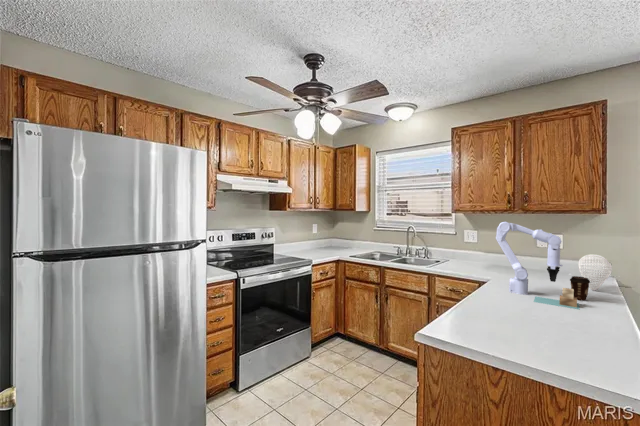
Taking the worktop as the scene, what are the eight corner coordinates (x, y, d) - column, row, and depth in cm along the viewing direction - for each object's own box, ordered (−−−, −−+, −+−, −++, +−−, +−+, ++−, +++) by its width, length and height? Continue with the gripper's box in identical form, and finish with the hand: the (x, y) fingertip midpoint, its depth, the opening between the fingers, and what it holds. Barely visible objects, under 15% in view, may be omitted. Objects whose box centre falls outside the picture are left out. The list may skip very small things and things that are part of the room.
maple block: (562, 297, 162) (562, 289, 162) (562, 296, 166) (562, 287, 166) (573, 299, 160) (573, 290, 160) (573, 297, 163) (573, 289, 163)
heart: (611, 297, 182) (613, 259, 182) (577, 292, 192) (578, 256, 192) (608, 288, 204) (609, 254, 203) (577, 284, 214) (578, 252, 213)
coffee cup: (584, 299, 176) (585, 276, 176) (592, 303, 168) (593, 279, 168) (566, 297, 179) (567, 275, 179) (573, 301, 171) (574, 278, 171)
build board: (533, 303, 166) (533, 301, 166) (535, 297, 177) (535, 296, 177) (579, 311, 154) (579, 309, 154) (578, 304, 165) (578, 303, 165)
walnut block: (559, 304, 162) (559, 297, 162) (559, 301, 168) (559, 295, 168) (576, 307, 158) (577, 300, 158) (576, 304, 163) (576, 297, 163)
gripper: (562, 258, 168) (561, 283, 168) (562, 255, 179) (562, 279, 179) (546, 257, 172) (545, 281, 172) (547, 254, 184) (547, 277, 184)
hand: (553, 280), depth 176 cm, fingers open, 7 cm apart
